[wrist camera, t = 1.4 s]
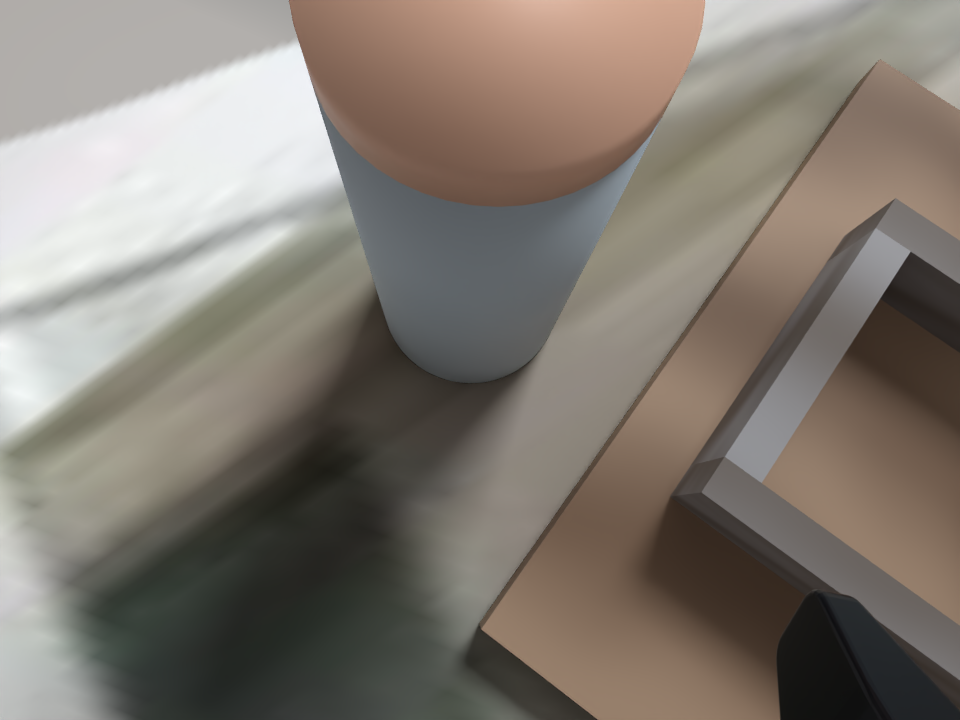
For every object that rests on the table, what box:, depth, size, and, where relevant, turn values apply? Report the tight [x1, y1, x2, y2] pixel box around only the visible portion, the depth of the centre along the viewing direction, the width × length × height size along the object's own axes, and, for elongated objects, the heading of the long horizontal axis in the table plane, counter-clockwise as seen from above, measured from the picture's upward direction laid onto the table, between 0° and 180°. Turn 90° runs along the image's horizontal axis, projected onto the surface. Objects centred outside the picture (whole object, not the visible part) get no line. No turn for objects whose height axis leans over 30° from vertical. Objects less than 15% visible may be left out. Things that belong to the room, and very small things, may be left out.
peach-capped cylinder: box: [289, 0, 705, 383], centre depth 15 cm, size 5×5×13 cm
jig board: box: [479, 60, 960, 720], centre depth 19 cm, size 20×13×4 cm, turn 144°
